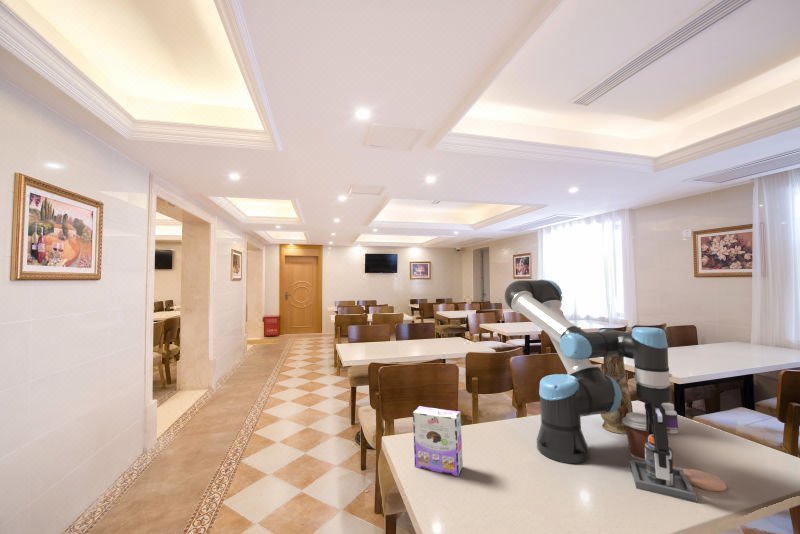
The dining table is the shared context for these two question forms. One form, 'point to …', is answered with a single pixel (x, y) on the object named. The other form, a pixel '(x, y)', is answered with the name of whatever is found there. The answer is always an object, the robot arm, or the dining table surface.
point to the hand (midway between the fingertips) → (659, 469)
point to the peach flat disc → (704, 480)
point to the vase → (617, 371)
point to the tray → (678, 490)
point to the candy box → (438, 440)
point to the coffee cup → (636, 434)
